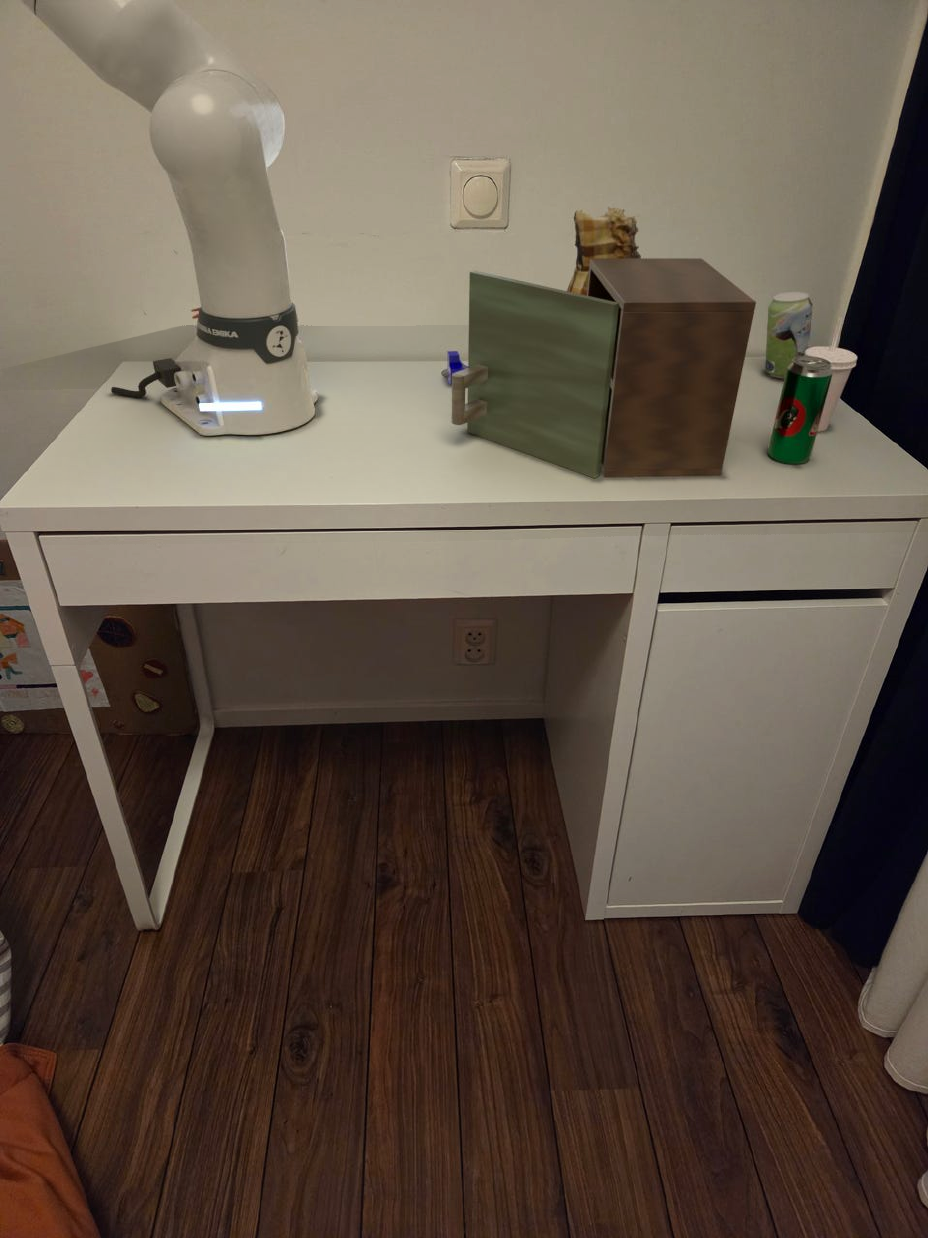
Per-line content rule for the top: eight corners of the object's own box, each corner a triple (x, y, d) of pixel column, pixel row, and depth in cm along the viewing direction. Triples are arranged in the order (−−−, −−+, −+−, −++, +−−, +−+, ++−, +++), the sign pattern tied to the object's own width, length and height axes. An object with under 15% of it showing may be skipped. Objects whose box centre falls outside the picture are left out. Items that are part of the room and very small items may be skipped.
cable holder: (450, 386, 124) (450, 358, 122) (447, 377, 127) (447, 351, 125) (504, 383, 125) (505, 356, 123) (499, 375, 128) (500, 349, 126)
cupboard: (603, 478, 100) (624, 302, 88) (575, 413, 116) (589, 258, 104) (720, 476, 100) (756, 301, 89) (676, 412, 117) (701, 258, 105)
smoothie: (839, 421, 115) (869, 315, 106) (835, 438, 110) (866, 329, 102) (790, 413, 117) (816, 309, 109) (784, 430, 112) (810, 322, 104)
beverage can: (810, 382, 127) (831, 299, 120) (761, 382, 127) (779, 299, 120) (797, 368, 132) (816, 288, 125) (750, 368, 132) (766, 287, 125)
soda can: (811, 468, 102) (838, 370, 95) (768, 464, 103) (791, 366, 96) (806, 451, 106) (831, 356, 100) (765, 447, 107) (786, 352, 100)
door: (568, 493, 96) (584, 315, 84) (439, 444, 107) (438, 279, 95) (599, 475, 100) (619, 302, 88) (472, 429, 110) (475, 270, 99)
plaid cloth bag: (546, 352, 134) (559, 186, 115) (634, 362, 132) (661, 195, 113) (533, 403, 125) (544, 231, 106) (627, 414, 123) (655, 241, 104)
